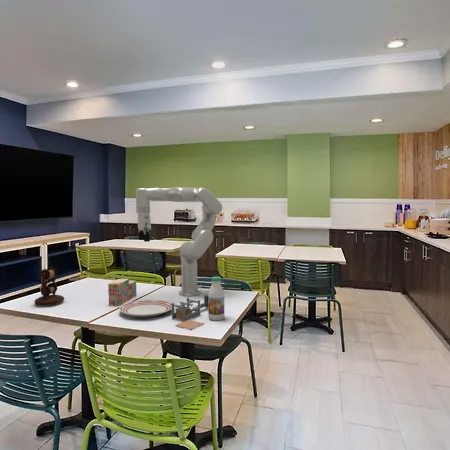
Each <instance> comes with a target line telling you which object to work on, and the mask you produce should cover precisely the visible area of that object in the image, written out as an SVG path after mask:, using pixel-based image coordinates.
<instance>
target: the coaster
mask: <svg viewBox="0 0 450 450" xmlns="http://www.w3.org/2000/svg"><path fill="white" fill-rule="evenodd" d="M202 324H203V325H204V324H205V323H204V322H201V321H197V320H192V319H190V320H189V319H188V320H186V321H184V322H183V321H181V322H179V323H177V324H175V327H176V326H177V328H180V327H182V328H181V329H184V328H187V329H186V330H188V329H193V328H195V327H197V326H199V327H201V326H203V325H202ZM200 325H201V326H200ZM197 328H198V327H197ZM195 329H196V328H195ZM193 330H194V329H193Z"/></svg>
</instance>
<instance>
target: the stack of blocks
mask: <svg viewBox="0 0 450 450" xmlns="http://www.w3.org/2000/svg"><path fill="white" fill-rule="evenodd" d="M107 284H108V285H107V287H108V293H107V294H108V306H111V307H114V306H116V307H120V306H122V305H124V304H126V303H128V301H130V300H132V299H133V298H135V297H137V280H130V279H129V278H118V279H116V280H113V281H111V282H110V283H109V282H108V283H107Z"/></svg>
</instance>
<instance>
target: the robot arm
mask: <svg viewBox="0 0 450 450" xmlns="http://www.w3.org/2000/svg"><path fill="white" fill-rule="evenodd" d="M151 202H173V203H174V202H176V203H178V202H179V203H185V202H186V203H189V202H190V203H194V202H195V203H199V202H200V203H202V205H201V211H202V218H201V220H200V222H199V224H198V225H197V226H196V228H194V230H193V231H192V233H191V239H192V241H184V242H183V243H182V244H181V245H180V248H179V257H180V266H181V267H180V270H181V271H180V272H181V290H180V291H179V292H178V295H180V296H183V297H193V296H194V297H195V296H198V295H200V294H201V291H200V290H199V289H201V288H202V284H199V285H198V262H197V261H198V259H200V258H201V257H203V255H204V254H205V252H206V251H207V250H208V248H209V247H210V246H211V244H212V242H213V240H214V234H213V232H212V231H213V229H214V227H215V225H216V221H217V217H216V216H217V215H219V214H221V213H222V210H223V204H222V202H221V201H220V200H219V199H218V198H217V197H216V196H215V195H214V194H213V193H212V192H211V191H210V190H209V189H208V188H206V187H202V186H201V187H181V186H179V187H176V186H175V187H167V188H161V187H151V188H147V187H137V188H136V189H135V206H136V207H135V209H136V214H137V229H138V240H139V241H142V240H143V241H144V242H150V241H151V235H150V234H151V232H150V231H151V230H152V225H151V224H152V222H151V215H150V214H151Z"/></svg>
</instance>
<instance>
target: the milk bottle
mask: <svg viewBox="0 0 450 450" xmlns="http://www.w3.org/2000/svg"><path fill="white" fill-rule="evenodd" d="M210 279H211V286H210V288H209V291H208V294H207V295H208V307H207V308H208V309H207V312H208V315H207V316H208V319H209V320H212V321H222V320H224V319H225V292H224V289H223V287H222V285H221V282H222V277H221V276H212V277H211V278H210Z"/></svg>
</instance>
